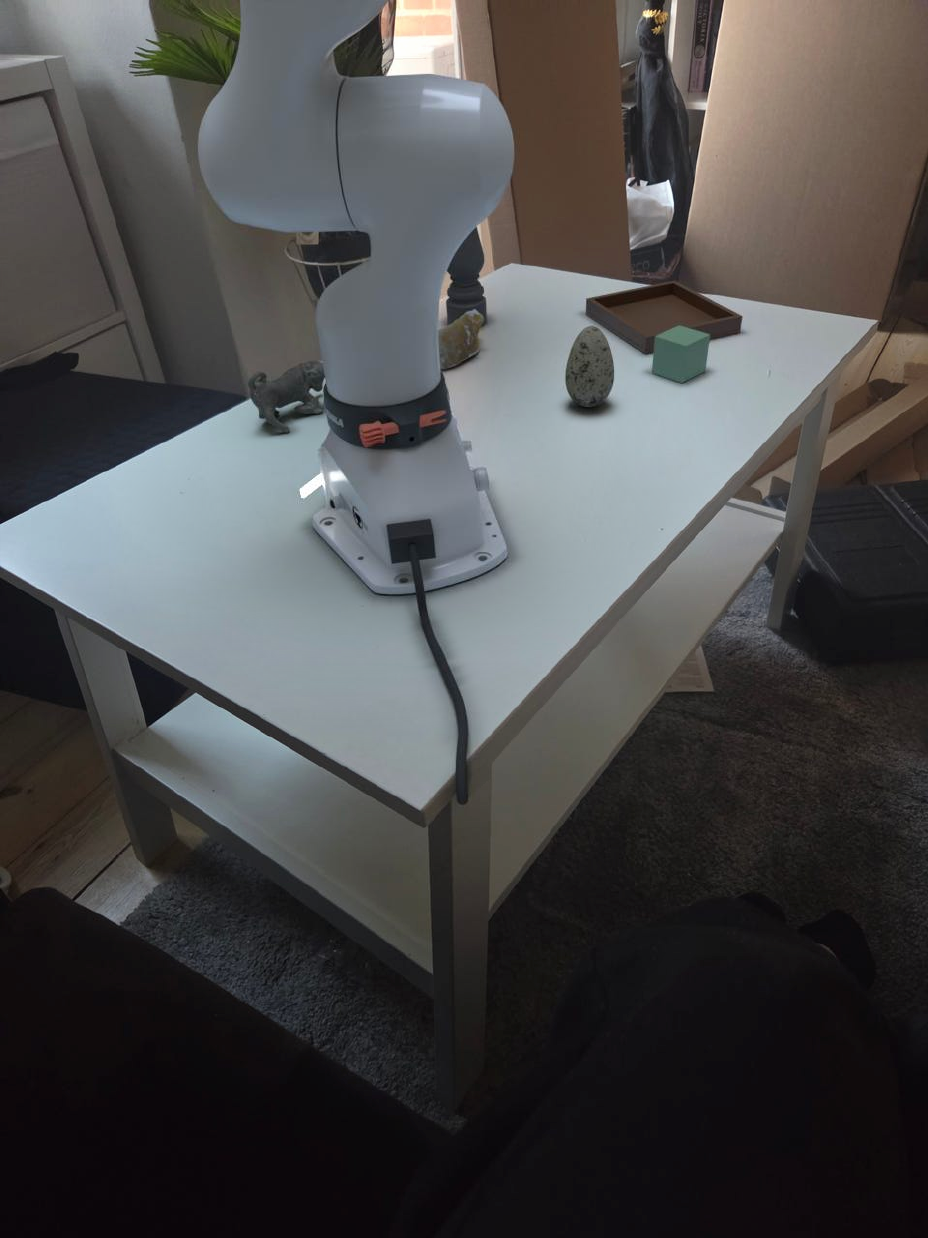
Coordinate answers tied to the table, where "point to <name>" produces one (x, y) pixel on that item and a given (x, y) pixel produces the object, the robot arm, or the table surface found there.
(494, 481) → the table surface
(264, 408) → the dog figurine
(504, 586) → the table surface
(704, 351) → the green block
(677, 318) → the tray
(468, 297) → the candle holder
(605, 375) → the decorative egg
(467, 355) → the stone
